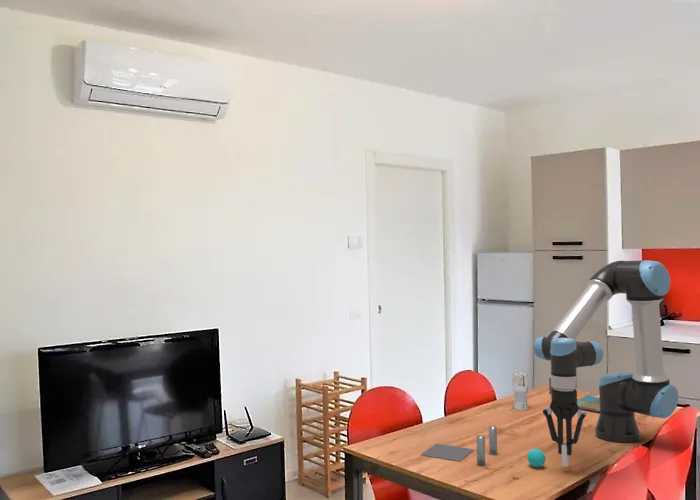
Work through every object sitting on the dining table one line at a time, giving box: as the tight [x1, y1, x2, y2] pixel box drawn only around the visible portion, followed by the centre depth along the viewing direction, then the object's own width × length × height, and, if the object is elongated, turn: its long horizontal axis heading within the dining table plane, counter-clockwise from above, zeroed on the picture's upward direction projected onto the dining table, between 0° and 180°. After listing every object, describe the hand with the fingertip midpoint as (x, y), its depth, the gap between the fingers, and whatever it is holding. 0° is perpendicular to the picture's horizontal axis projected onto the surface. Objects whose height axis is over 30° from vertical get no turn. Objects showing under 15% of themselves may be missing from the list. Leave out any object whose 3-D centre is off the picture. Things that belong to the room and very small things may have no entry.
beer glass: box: [511, 372, 530, 411], centre depth 268 cm, size 7×7×15 cm
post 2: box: [488, 425, 498, 456], centre depth 208 cm, size 3×3×9 cm
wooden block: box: [548, 376, 553, 395], centre depth 294 cm, size 4×4×8 cm
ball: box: [526, 448, 546, 468], centre depth 195 cm, size 6×6×6 cm
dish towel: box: [577, 394, 600, 415], centre depth 271 cm, size 17×23×2 cm
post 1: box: [476, 434, 486, 467], centre depth 197 cm, size 3×3×9 cm
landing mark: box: [419, 443, 475, 463], centre depth 210 cm, size 14×14×1 cm
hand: (565, 464), depth 190 cm, fingers closed
